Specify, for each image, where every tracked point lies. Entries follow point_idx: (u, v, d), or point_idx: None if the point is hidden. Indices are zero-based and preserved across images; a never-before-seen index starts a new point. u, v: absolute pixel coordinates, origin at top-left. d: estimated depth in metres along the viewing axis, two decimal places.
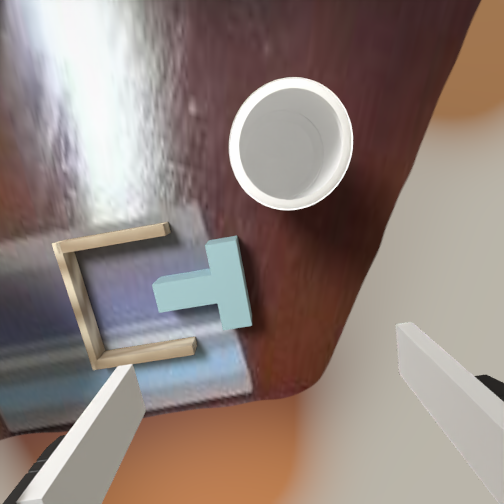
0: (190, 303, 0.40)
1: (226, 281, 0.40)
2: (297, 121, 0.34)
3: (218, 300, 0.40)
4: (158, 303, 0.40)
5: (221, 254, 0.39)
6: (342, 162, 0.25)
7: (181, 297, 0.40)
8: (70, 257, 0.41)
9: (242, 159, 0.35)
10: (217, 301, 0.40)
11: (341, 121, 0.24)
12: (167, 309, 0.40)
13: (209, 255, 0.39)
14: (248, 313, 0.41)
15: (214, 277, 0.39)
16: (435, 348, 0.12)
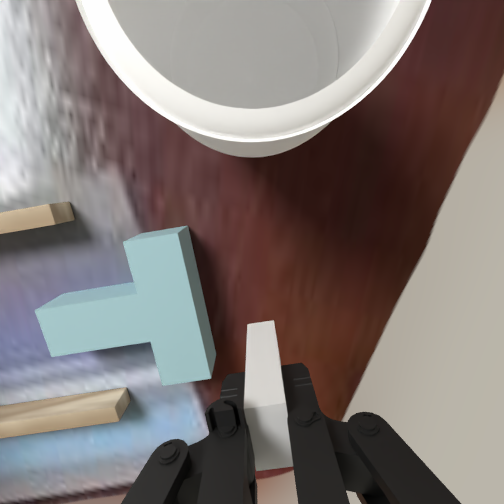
0: (104, 341, 0.23)
1: (163, 305, 0.23)
2: None
3: (152, 337, 0.23)
4: (48, 341, 0.23)
5: (153, 258, 0.22)
6: None
7: (87, 331, 0.23)
8: None
9: (179, 73, 0.18)
10: (150, 338, 0.23)
11: None
12: (64, 351, 0.24)
13: (131, 259, 0.22)
14: (204, 358, 0.24)
15: (143, 298, 0.23)
16: (271, 342, 0.15)
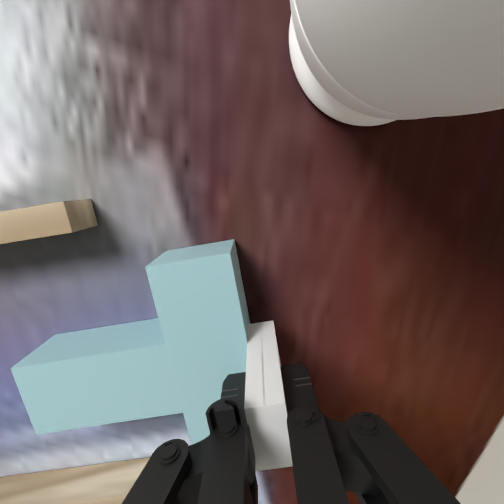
0: (114, 412, 0.16)
1: (204, 361, 0.15)
2: None
3: (185, 406, 0.16)
4: (31, 413, 0.16)
5: (191, 291, 0.14)
6: None
7: (89, 398, 0.16)
8: None
9: None
10: (183, 408, 0.16)
11: None
12: (55, 427, 0.16)
13: (158, 293, 0.14)
14: None
15: (174, 350, 0.15)
16: (271, 342, 0.15)
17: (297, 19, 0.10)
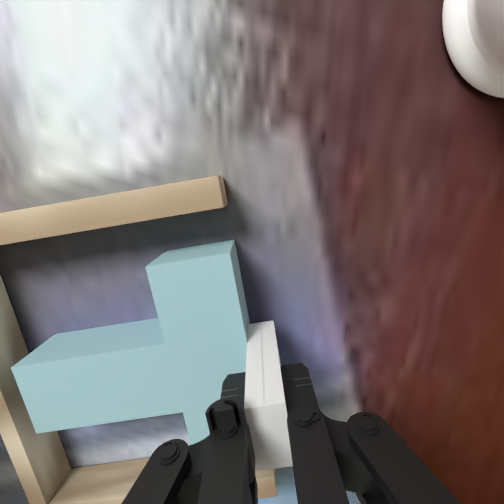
0: (113, 412, 0.16)
1: (204, 360, 0.15)
2: None
3: (185, 405, 0.16)
4: (32, 412, 0.16)
5: (191, 291, 0.14)
6: None
7: (89, 397, 0.16)
8: None
9: None
10: (182, 408, 0.16)
11: None
12: (55, 426, 0.16)
13: (158, 293, 0.14)
14: None
15: (174, 350, 0.15)
16: (271, 342, 0.15)
17: None
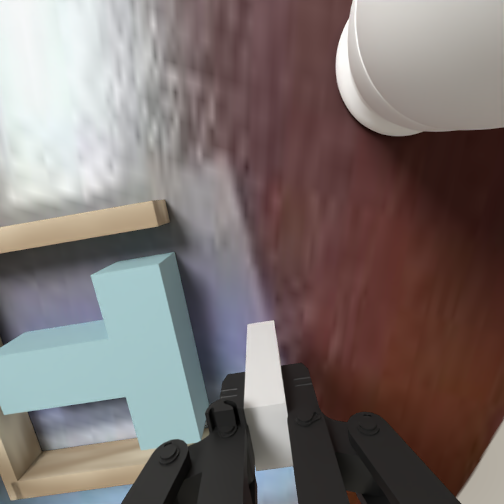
0: (68, 396, 0.19)
1: (141, 353, 0.18)
2: None
3: (127, 391, 0.19)
4: (0, 396, 0.19)
5: (128, 295, 0.17)
6: None
7: (48, 384, 0.19)
8: None
9: None
10: (125, 393, 0.19)
11: None
12: (19, 409, 0.19)
13: (101, 297, 0.17)
14: (192, 417, 0.19)
15: (116, 343, 0.18)
16: (272, 342, 0.15)
17: (359, 57, 0.13)
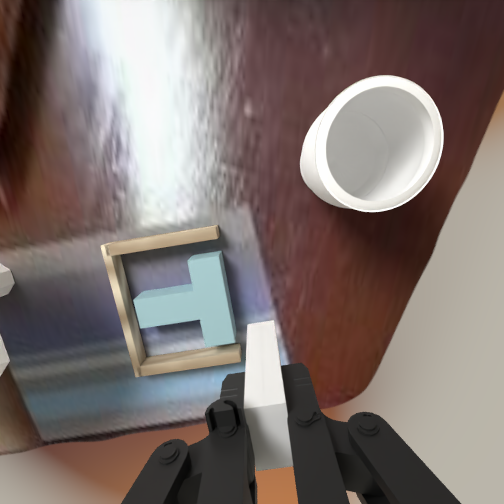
0: (172, 319, 0.39)
1: (208, 297, 0.39)
2: (360, 123, 0.34)
3: (200, 316, 0.39)
4: (139, 319, 0.39)
5: (204, 270, 0.38)
6: (431, 163, 0.24)
7: (163, 312, 0.39)
8: (117, 260, 0.40)
9: None
10: (199, 317, 0.39)
11: (433, 121, 0.24)
12: (148, 325, 0.40)
13: (191, 270, 0.38)
14: (231, 330, 0.40)
15: (197, 293, 0.39)
16: (272, 342, 0.15)
17: (304, 175, 0.34)
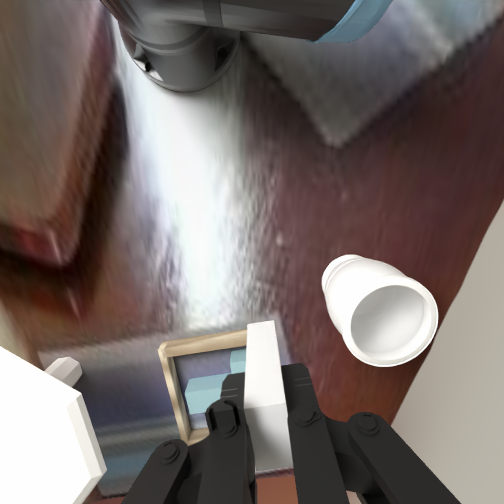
0: None
1: None
2: None
3: None
4: (189, 407, 0.48)
5: (243, 370, 0.47)
6: (429, 335, 0.33)
7: (209, 402, 0.48)
8: (169, 357, 0.49)
9: None
10: None
11: (430, 307, 0.32)
12: (196, 412, 0.48)
13: (233, 370, 0.47)
14: None
15: None
16: (272, 342, 0.15)
17: None
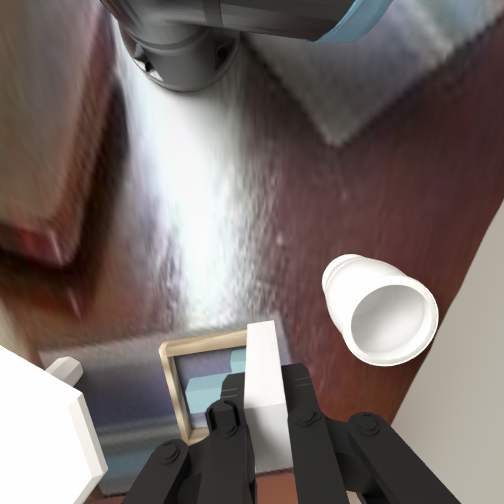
0: None
1: None
2: None
3: None
4: (190, 406, 0.48)
5: (244, 369, 0.47)
6: (429, 334, 0.33)
7: (209, 402, 0.48)
8: (170, 357, 0.49)
9: None
10: None
11: (430, 307, 0.32)
12: (197, 411, 0.48)
13: (233, 370, 0.47)
14: None
15: None
16: (272, 342, 0.15)
17: None
